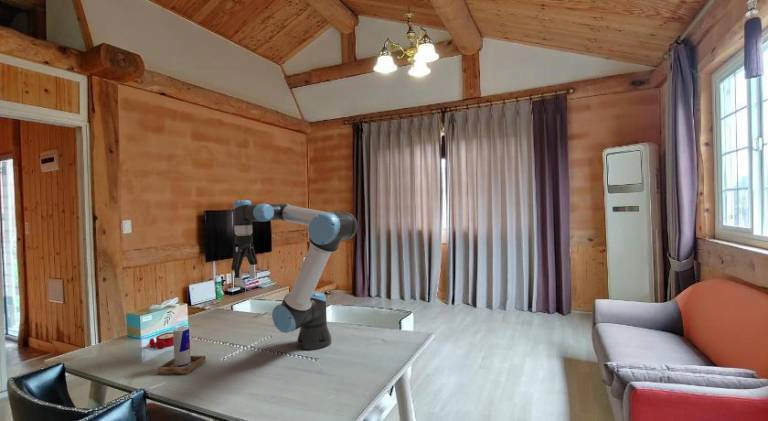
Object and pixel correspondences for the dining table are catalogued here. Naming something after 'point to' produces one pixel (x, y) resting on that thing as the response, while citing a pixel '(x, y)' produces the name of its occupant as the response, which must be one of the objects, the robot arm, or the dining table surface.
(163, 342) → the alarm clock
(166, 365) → the tray
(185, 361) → the beverage can
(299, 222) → the robot arm
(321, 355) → the dining table surface
